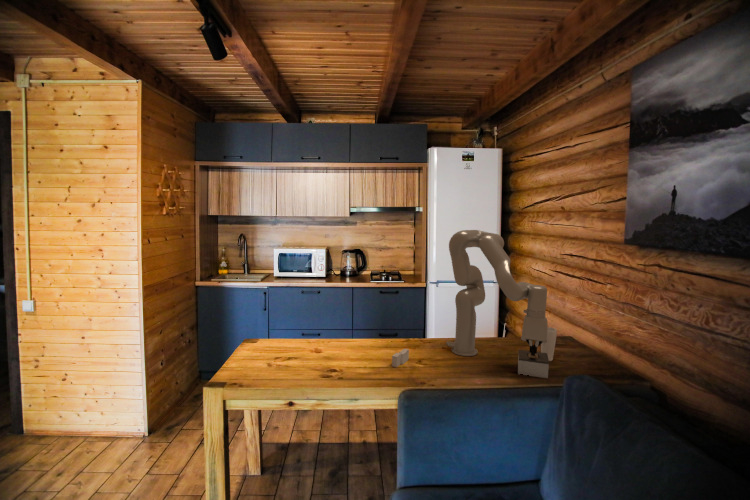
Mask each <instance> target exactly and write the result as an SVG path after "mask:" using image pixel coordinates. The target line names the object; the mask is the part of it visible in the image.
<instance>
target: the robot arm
mask: <svg viewBox="0 0 750 500" xmlns="http://www.w3.org/2000/svg"><path fill="white" fill-rule="evenodd" d="M504 246H505V241H504V238H503V237H502V236H501V235H500V234H497V233H493V232H487V231H484V230H480V229H469V230H468V229H465V230H460V231H457V232H455V233H454V234H453V235H452V236H451V237H450V239H449V241H448V251H449V254H450V259H451V265H452V271H453V276H454V277H453V278H454V281H455V283H456V284H457V285H458V286H460V287H466V288H463V289H460V290H459V291H458V292H457V293H456V295H455V301H454V303H455V309H456V310H455V311H456V314H455V316H456V317H455V320H456V321H455V336H454V338H455V340H454V341H448V340H446V343H445V345H446V346H447V347H449V348H450V347H451V352H452V353H453V354H455V355H457V356H463V357H474V356H476V355H478V349H477V348H475V347H476V345H475V344H476V330H477V329H476V328H477V313H476V307H478V306H480V305H482V304H483V303H484V302H485V300H486V290H485V285H484V284H485V283H484V278H483V274H482V272H481V270H480V268H479V267H477V266H476V265H473V264H471V261H470V256H469V255H468V252H467V250H466V249H467V248H479V249H480V251H481V252H482V254H483V255H484V257H485V259H486V260H487V261H488V263H489V264H490V265H491V268H493V270H494V271H493V272H494V276H495V279H496V282H497V284H498V287H499V288H500V290H501V291H502V292H503V294H504V295H505V296H506V298H508V299H509V301H510V300H511V301H512V302H519V301H522V300H527V308H526V309H523V311H522V312H523V313H524V314H525V315H524V318H523V323H522V331H521V337H520V339H521V341H523V342H526V343H527V344H528V345H529V350H528V351H529V352H530V353H531V355H534V356H535V353H537V352H538V347H539V346H541V344H542V343H547V331H548V327H549V325H548V318H547V317H546V314H547V313H546V310H547V298H548V288H547V287H546V286H545V285H540V284H532V283H530V282H526V281H519V282H516V280H515V278H514V277H513V275H512V273H511V270H510V268H511V266H510V265H511V258H510V257H509V255H508V254H507V253H506V251H505V250H504ZM533 341H535V342H534V344H533Z"/></svg>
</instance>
